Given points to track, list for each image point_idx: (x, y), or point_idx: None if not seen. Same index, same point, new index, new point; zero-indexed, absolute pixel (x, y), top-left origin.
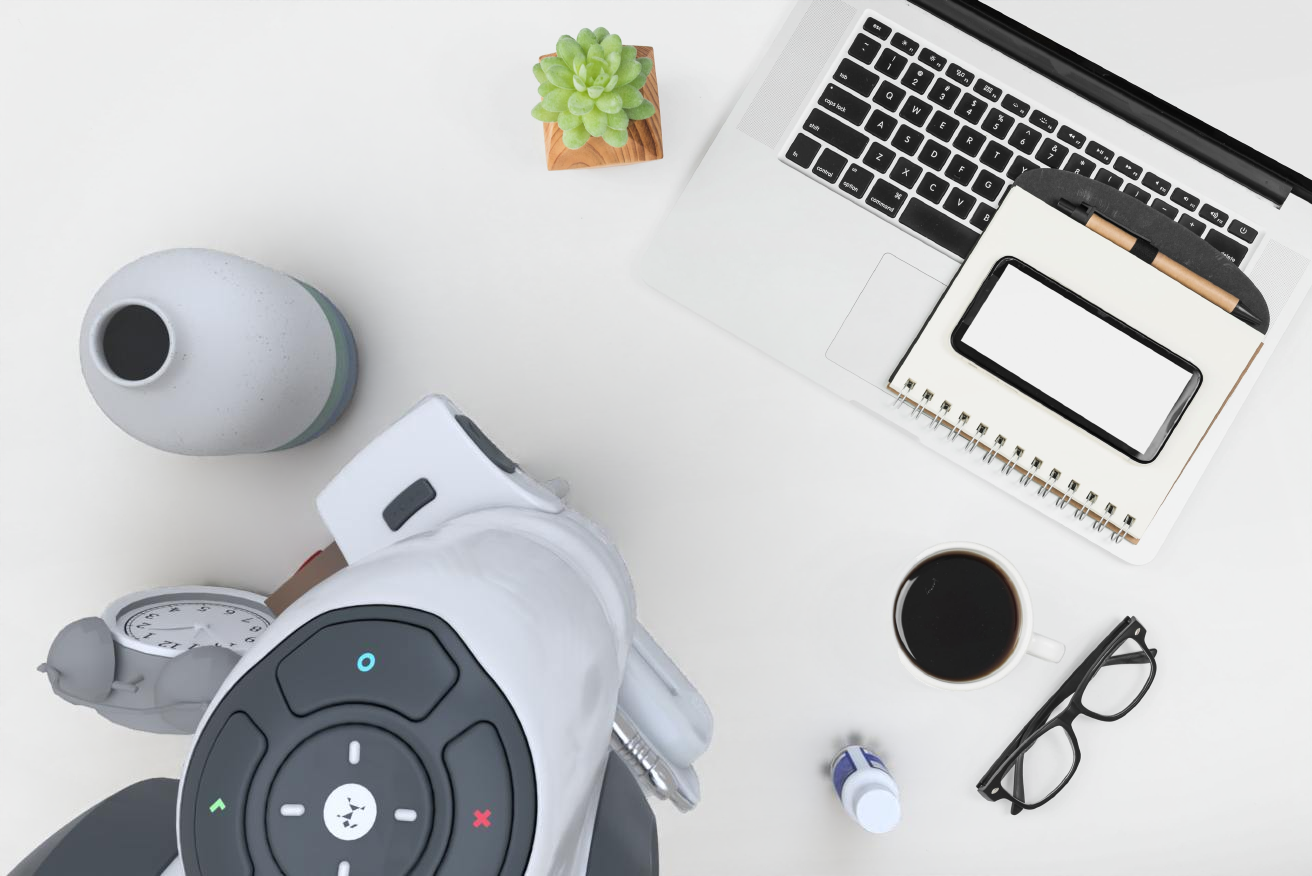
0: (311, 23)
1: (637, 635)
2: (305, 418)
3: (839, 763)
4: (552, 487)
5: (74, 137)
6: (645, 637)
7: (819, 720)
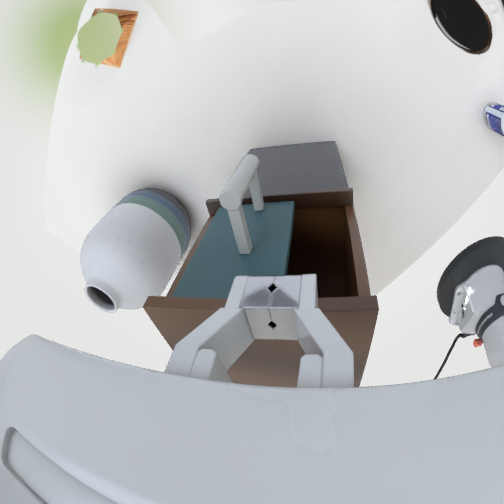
0: (51, 145)
1: (441, 496)
2: (169, 238)
3: (489, 120)
4: (227, 190)
5: (74, 234)
6: (462, 447)
7: (468, 109)
